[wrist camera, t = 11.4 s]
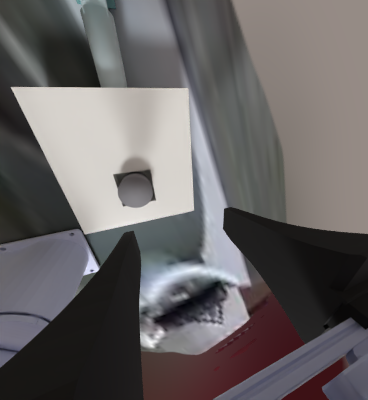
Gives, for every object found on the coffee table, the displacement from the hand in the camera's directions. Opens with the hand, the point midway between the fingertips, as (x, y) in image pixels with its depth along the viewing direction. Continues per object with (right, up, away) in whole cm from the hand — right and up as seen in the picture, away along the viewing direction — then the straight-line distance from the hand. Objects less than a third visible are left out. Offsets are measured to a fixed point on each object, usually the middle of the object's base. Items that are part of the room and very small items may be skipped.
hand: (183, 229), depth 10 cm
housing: (-6, +7, +6) cm, 11 cm away
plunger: (-5, +4, +4) cm, 7 cm away
